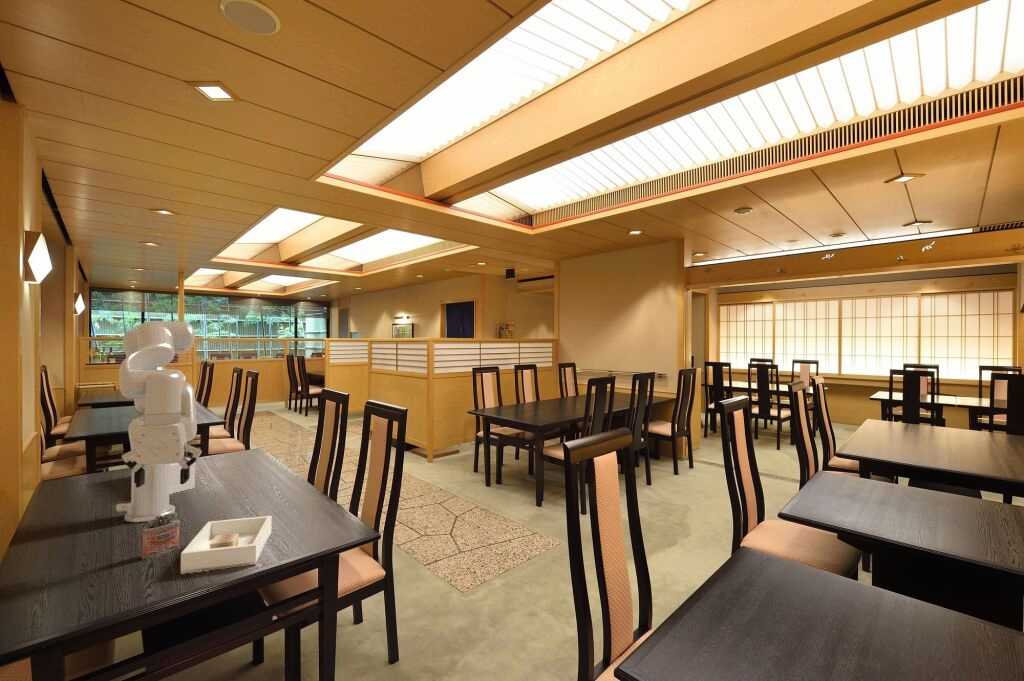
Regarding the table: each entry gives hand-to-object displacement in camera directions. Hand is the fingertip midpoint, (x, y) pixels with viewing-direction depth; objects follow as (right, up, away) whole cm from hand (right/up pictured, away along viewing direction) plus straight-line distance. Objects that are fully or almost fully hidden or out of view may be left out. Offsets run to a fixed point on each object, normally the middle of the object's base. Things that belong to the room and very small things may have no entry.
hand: (162, 484), depth 120 cm
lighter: (0, -18, 0) cm, 18 cm away
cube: (+19, -18, -4) cm, 26 cm away
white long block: (-43, -18, +56) cm, 73 cm away
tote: (+17, -18, +1) cm, 25 cm away
